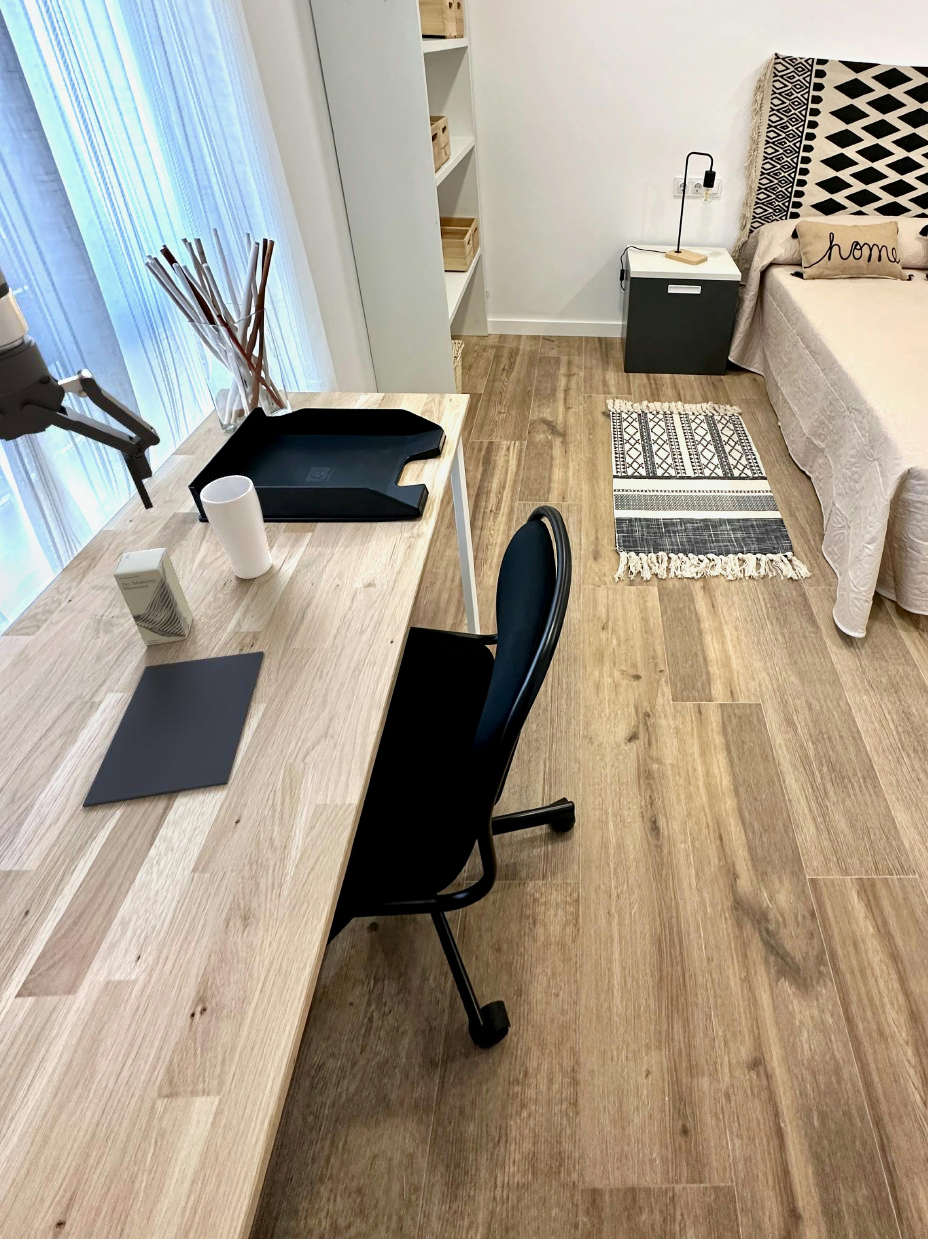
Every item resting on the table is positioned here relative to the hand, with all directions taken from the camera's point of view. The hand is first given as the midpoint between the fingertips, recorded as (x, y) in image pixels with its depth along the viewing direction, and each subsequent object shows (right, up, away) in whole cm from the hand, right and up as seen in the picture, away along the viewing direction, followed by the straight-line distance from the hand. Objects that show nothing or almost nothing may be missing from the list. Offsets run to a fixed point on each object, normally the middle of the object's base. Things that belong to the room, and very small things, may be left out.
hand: (74, 527), depth 70 cm
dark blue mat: (+7, -24, +7) cm, 26 cm away
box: (-2, -17, +19) cm, 25 cm away
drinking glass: (+4, -10, +29) cm, 31 cm away
